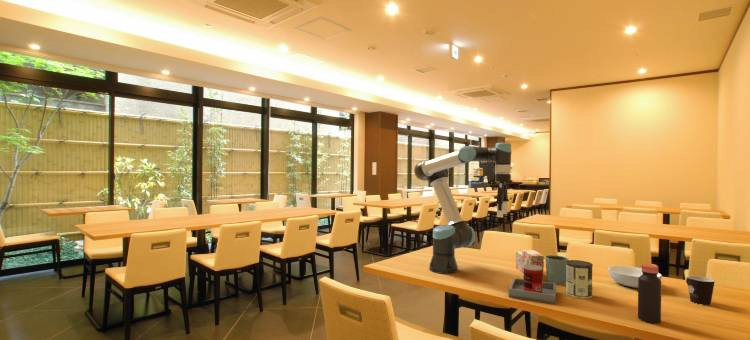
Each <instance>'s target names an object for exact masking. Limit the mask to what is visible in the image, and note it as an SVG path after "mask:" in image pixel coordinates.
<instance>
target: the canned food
mask: <svg viewBox="0 0 750 340" xmlns="http://www.w3.org/2000/svg"><path fill="white" fill-rule="evenodd" d="M522 279H523V289H524V290H525V291H532V292H538V293H542V282H543V280H544V268H543V269H542V267H541V266H537V265H524V274H523V278H522ZM542 279H543V280H542Z"/></svg>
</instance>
